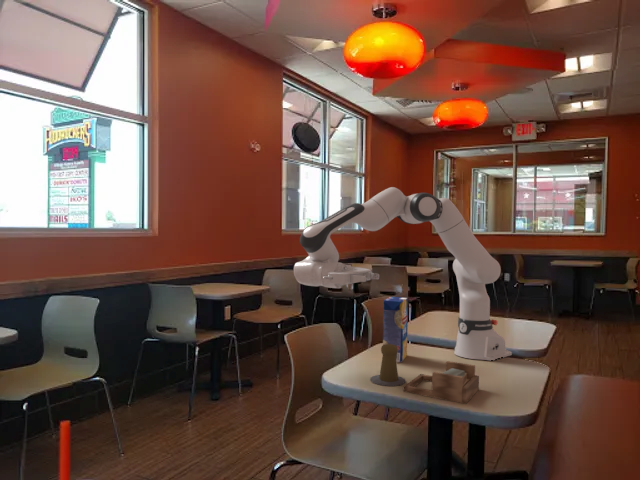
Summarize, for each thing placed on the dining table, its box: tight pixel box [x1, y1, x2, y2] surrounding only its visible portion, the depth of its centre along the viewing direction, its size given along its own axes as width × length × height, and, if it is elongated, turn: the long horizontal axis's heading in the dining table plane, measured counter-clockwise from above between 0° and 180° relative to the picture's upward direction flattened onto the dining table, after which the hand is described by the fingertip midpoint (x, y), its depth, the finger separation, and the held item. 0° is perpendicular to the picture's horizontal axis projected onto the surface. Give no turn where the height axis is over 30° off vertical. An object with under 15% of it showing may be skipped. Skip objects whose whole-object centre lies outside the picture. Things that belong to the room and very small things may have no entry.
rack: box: [403, 360, 480, 405], centre depth 145 cm, size 18×15×7 cm
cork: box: [379, 344, 399, 382], centre depth 154 cm, size 6×6×11 cm
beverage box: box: [382, 296, 409, 363], centre depth 181 cm, size 7×11×22 cm, turn 159°
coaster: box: [370, 374, 406, 387], centre depth 154 cm, size 11×11×1 cm
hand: (372, 277), depth 158 cm, fingers open, 8 cm apart
